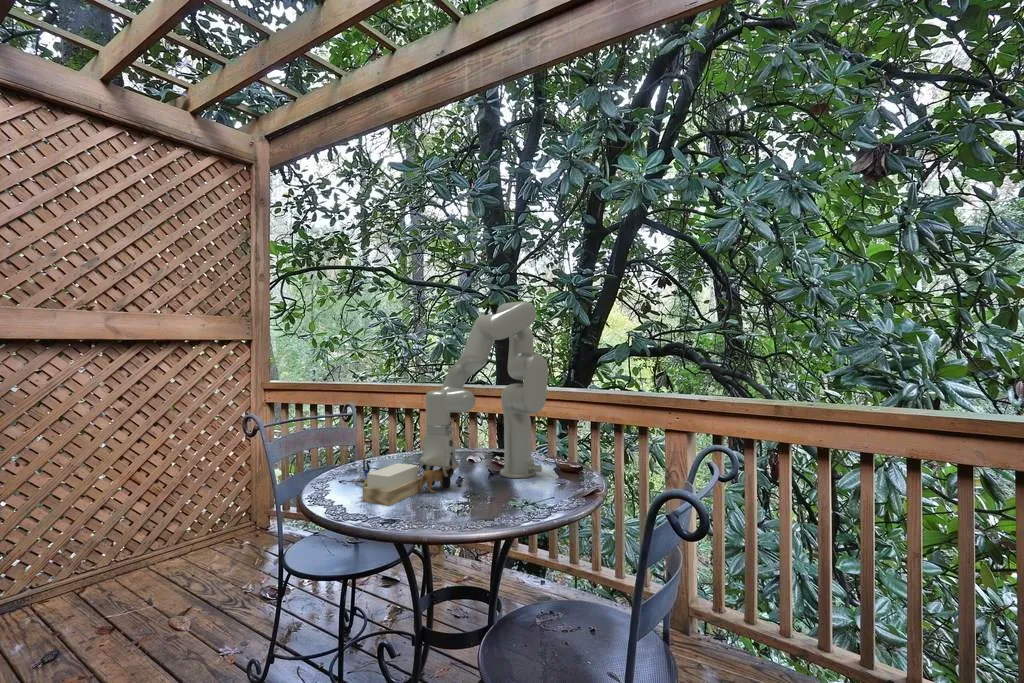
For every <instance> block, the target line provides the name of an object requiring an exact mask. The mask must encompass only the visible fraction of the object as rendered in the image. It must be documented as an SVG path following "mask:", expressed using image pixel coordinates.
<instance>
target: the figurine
mask: <svg viewBox="0 0 1024 683" xmlns="http://www.w3.org/2000/svg"><path fill="white" fill-rule="evenodd" d="M371 463H372V461H371V459H369V460H366V458H365V456H364V457H363V459H362V471H363V473H364V475H363V476H361V477H360V478H358V479H355V480H354V482H358V481H361V480H362V479H365V480H364V482H362V486H363V487H366V486H368V485H367V474H368V473H370V470H371V467H370V465H369V464H371ZM363 487H362V488H361V489H362V490H363Z"/></svg>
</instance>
